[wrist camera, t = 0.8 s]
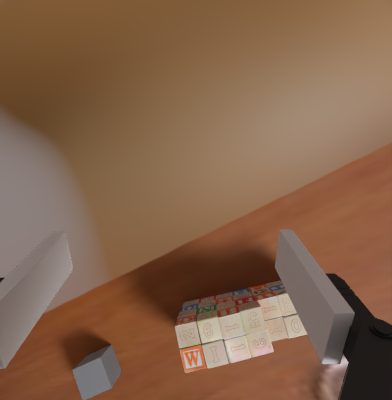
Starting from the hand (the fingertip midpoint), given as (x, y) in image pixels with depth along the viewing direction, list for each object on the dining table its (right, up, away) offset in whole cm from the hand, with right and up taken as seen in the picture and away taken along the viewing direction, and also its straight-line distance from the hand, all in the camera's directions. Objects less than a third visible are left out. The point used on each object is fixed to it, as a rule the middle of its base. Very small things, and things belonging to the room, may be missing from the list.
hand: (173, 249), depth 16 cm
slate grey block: (-15, -26, +31) cm, 43 cm away
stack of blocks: (+10, -16, +31) cm, 36 cm away
